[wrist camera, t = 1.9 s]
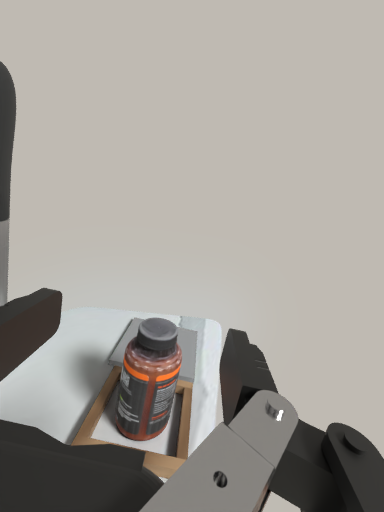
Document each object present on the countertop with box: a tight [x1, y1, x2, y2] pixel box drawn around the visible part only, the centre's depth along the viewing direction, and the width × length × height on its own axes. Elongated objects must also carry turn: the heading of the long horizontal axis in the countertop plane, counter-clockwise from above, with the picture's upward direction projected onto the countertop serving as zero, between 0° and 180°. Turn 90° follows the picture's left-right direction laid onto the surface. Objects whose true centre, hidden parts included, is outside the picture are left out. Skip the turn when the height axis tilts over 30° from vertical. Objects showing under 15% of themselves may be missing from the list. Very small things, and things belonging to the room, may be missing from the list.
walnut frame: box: [71, 365, 193, 479], centre depth 26 cm, size 10×10×1 cm
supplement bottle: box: [115, 318, 182, 441], centre depth 25 cm, size 6×6×11 cm
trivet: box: [108, 318, 197, 383], centre depth 38 cm, size 12×12×1 cm
